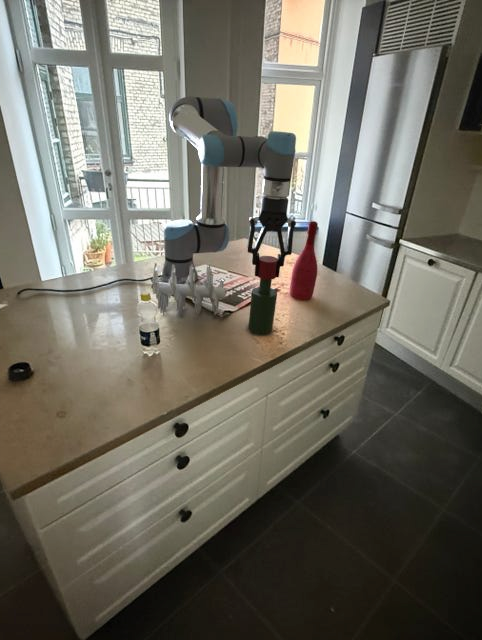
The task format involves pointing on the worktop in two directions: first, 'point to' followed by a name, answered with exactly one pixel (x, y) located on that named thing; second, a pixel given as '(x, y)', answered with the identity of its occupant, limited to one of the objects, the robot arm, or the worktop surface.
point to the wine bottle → (305, 268)
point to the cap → (267, 267)
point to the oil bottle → (262, 308)
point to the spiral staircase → (187, 291)
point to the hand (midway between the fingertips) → (266, 275)
